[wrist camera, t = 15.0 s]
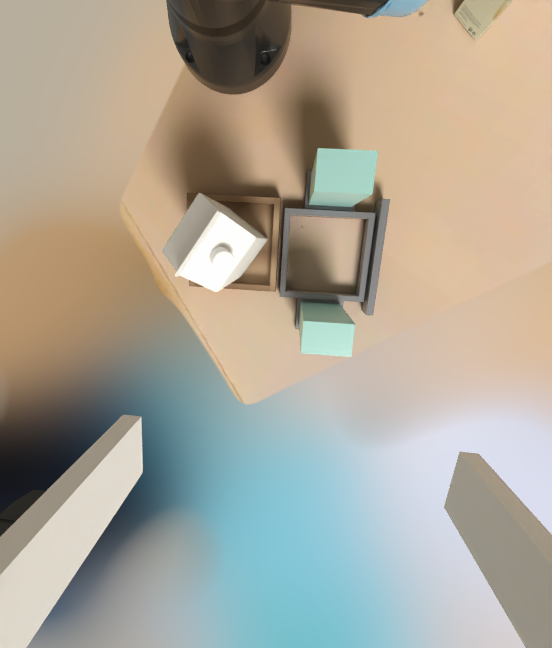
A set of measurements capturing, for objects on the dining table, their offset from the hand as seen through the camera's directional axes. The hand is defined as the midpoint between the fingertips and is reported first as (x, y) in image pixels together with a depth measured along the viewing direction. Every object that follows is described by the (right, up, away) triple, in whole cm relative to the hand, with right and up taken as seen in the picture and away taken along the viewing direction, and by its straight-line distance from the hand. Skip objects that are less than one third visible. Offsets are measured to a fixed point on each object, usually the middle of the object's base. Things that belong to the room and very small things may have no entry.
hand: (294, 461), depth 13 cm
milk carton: (-7, +18, +33) cm, 38 cm away
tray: (-7, +18, +33) cm, 38 cm away
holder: (+7, +16, +33) cm, 37 cm away
